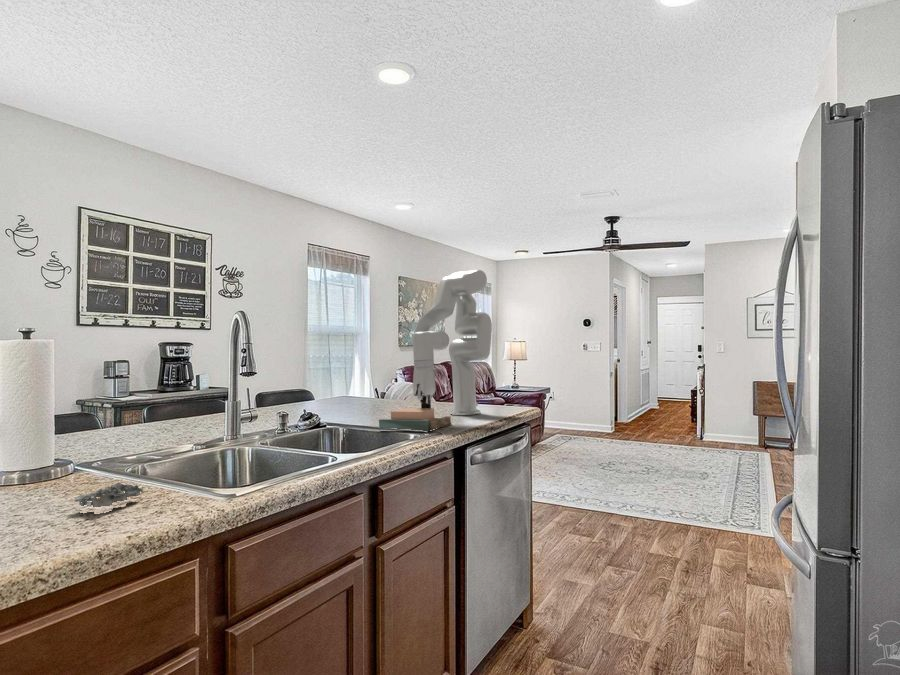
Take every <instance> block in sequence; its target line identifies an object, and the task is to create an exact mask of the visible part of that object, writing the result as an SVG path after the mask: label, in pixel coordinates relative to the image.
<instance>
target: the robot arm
mask: <svg viewBox="0 0 900 675" xmlns="http://www.w3.org/2000/svg"><path fill="white" fill-rule="evenodd" d="M487 282H488V278H487V273H486V272H484V271H483V270H481V269H473V270H472V269H471V270H465V271H464V270H463V271H455V272H453V273H451V274H450V275H448V276H447V275H446V276H444V277H443V278H441V279H440V281H439V285H438V288H437V292H436V294H435V297H434V300H433V304H432V306H431V307H430V308H429V309H428V310H427V311H426V312H425V313H424V314H423V315H422V316H421V317H420V319H419V320H418V322H417V323H416V326H415V328H414V331H413V334H412V352H413V353H412V354H413V376H412V394H413V396H414V397H417V398H416V399H417V400H418V401H419V402H420V405H421V406H420V407H421V408H432V405H431V404H432V398H433V397H434V394H435V393H436V378H435V371H434V369H435V358H434V356H435V355H434V352H435V351H443V350H445V349H446V348H448V353H449V357H450V362H451V373H452V374H451V375H452V395H453V396H452V397H453V399H452V400H453V401H452V402H453V410H450V411H449V412H450V415H451V414H452V415H453V416H472V415H473V416H474V415H479V414H480V413H481V409H477V407H478V406H479V403H478V402H477V393H476V392H477V389H476V371H475V370H476V369H475V368H474V366H473V365H472V363H471V362H474V361H475V362H477V361H485V360H487V359H489V356H490V353H491V352H490V351H491V347H492V346H491V345H492V343H491V342H492V332H493V331H492V330H493V323H492V319H491V316H490V315H489V313H486V312H477V302H476V299H475V298H474V296H473V294H476V293H477V292H480V291H482V290H484V289H485V287H486V286H487ZM455 307H456V309H455ZM454 310H455V320H454V331H455V333H456V335H459V336H461V338H460V337H459V338H456V339H453V340H452V341H450V337H449V335H448V333H447V332H446V331H443V330H431V328H432V327H433V326H435V325H437V324H438V323H440V322H442V321H444V320H445V319H447V318H449V317H450V316H452V315H453V313H454ZM463 336H464V337H463ZM465 336H469V337H465ZM470 336H476V337H470Z"/></svg>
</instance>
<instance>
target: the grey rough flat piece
mask: <svg viewBox="0 0 900 675" xmlns="http://www.w3.org/2000/svg"><path fill="white" fill-rule="evenodd" d="M143 489H145V486H142V488H140V487H139V486H138V485H137V484H135V485H133V484H128V483H126V484H123V483H120V482H116V483H115V484H114V485H111V486H108V487H105V488H104V489H103V488H100V489H98V490H97V491H93V492H91V493H89V494H79V495H78V496H76V498H75V499H74V503H79V504H78V506H79V505H81V506H84V505H87V506H91V505H93V507H101V506H110V505H112V503H113V502H117V501H124V500H127V497H129V496H138V495H140V496H141V493H142V492H143ZM123 491H125V493H124V492H123ZM96 497H100V498H98V499H97V498H96ZM87 501H92V502H87ZM81 502H82V503H81Z"/></svg>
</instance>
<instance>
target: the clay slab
mask: <svg viewBox="0 0 900 675" xmlns="http://www.w3.org/2000/svg"><path fill="white" fill-rule="evenodd" d="M434 418H435V408H433V407H431V408H420V407H403V408H400V409H396V410H391V411H390V419H415V420H430V421H431V420H434Z"/></svg>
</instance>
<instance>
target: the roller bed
mask: <svg viewBox="0 0 900 675" xmlns="http://www.w3.org/2000/svg"><path fill="white" fill-rule="evenodd" d="M451 419H452V418H451V415H449V416H447V415H446V416H443V417H441V418H440V417H434V420H431V421H430V420H415V419H391V418H380V419H378V425H379V427H380V428H397V429H411V430H423V431H430V430H433V429H436V428H440V427H442V428H444V427H443V426H445V427H447V426H446V425H448V426H450V425H449V424H451V425H452V421H451ZM440 429H441V428H440Z"/></svg>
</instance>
